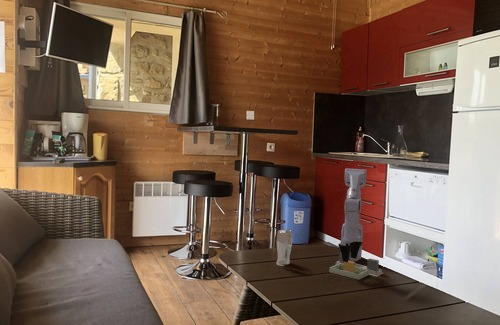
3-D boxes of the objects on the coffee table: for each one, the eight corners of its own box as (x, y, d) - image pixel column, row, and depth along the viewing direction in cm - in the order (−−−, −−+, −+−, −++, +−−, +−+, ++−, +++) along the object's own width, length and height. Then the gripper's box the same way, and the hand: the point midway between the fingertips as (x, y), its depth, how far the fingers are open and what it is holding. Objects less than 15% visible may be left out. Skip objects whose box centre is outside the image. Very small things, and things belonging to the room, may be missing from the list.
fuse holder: (340, 264, 190) (341, 259, 190) (383, 275, 177) (383, 269, 177) (333, 267, 184) (333, 262, 184) (376, 278, 172) (377, 272, 171)
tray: (339, 270, 181) (339, 263, 181) (368, 277, 173) (368, 270, 173) (329, 274, 174) (329, 267, 174) (358, 282, 166) (359, 274, 166)
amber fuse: (345, 273, 176) (346, 260, 176) (354, 275, 173) (355, 262, 173) (343, 274, 174) (343, 261, 174) (351, 276, 171) (352, 263, 171)
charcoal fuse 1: (341, 264, 187) (342, 252, 187) (349, 266, 184) (350, 254, 184) (339, 265, 185) (339, 253, 185) (347, 267, 182) (348, 255, 182)
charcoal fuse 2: (369, 271, 179) (369, 258, 178) (378, 273, 176) (378, 260, 176) (366, 272, 177) (367, 259, 177) (375, 274, 174) (376, 261, 174)
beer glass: (272, 264, 184) (274, 231, 183) (279, 261, 190) (280, 229, 190) (287, 267, 181) (289, 233, 180) (293, 264, 187) (295, 231, 186)
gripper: (352, 231, 165) (350, 265, 165) (367, 227, 176) (365, 258, 177) (336, 228, 169) (334, 261, 170) (352, 224, 180) (350, 255, 181)
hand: (349, 259), depth 173 cm, fingers open, 7 cm apart
